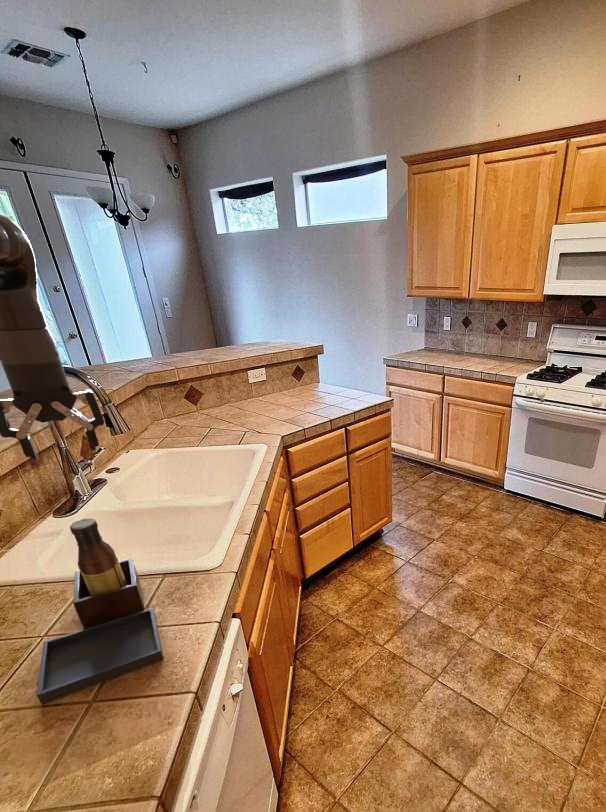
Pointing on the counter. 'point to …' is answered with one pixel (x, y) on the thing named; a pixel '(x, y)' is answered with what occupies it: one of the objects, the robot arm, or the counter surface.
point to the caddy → (108, 598)
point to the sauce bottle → (96, 558)
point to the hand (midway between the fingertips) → (64, 453)
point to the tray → (98, 655)
